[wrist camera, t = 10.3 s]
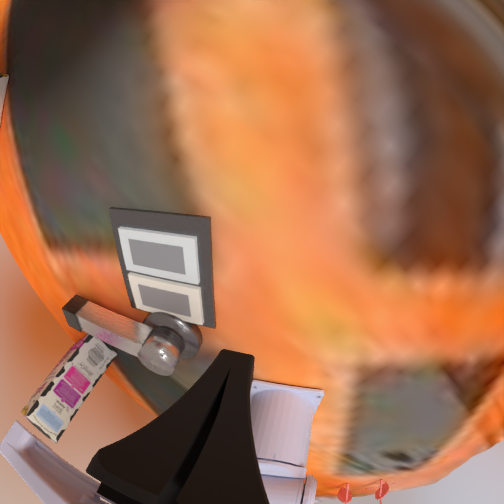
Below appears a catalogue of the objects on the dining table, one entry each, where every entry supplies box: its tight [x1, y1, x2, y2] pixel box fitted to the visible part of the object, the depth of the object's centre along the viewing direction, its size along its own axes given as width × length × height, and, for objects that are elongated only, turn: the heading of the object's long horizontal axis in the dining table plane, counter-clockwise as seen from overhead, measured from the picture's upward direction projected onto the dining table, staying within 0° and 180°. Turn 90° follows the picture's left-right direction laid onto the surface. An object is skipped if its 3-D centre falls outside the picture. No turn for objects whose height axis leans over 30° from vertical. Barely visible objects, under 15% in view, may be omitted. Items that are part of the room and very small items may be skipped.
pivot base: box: [143, 312, 202, 359], centre depth 25 cm, size 6×6×1 cm
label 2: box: [128, 272, 204, 325], centre depth 23 cm, size 4×7×1 cm, turn 88°
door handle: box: [62, 295, 185, 376], centre depth 24 cm, size 14×4×3 cm, turn 82°
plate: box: [109, 207, 216, 329], centre depth 22 cm, size 10×9×1 cm
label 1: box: [118, 227, 200, 285], centre depth 21 cm, size 4×7×1 cm, turn 88°
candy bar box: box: [21, 334, 117, 443], centre depth 26 cm, size 11×5×16 cm, turn 128°
